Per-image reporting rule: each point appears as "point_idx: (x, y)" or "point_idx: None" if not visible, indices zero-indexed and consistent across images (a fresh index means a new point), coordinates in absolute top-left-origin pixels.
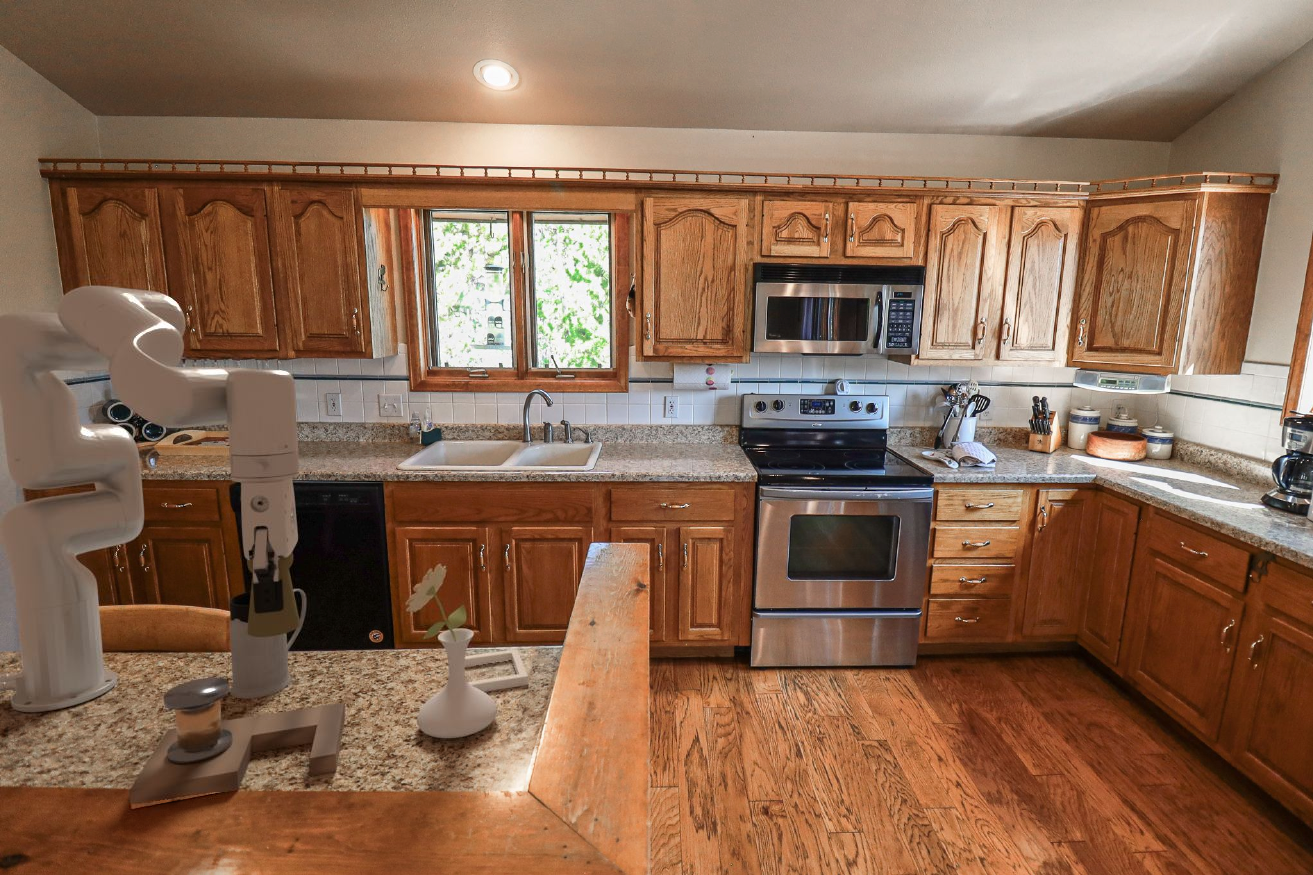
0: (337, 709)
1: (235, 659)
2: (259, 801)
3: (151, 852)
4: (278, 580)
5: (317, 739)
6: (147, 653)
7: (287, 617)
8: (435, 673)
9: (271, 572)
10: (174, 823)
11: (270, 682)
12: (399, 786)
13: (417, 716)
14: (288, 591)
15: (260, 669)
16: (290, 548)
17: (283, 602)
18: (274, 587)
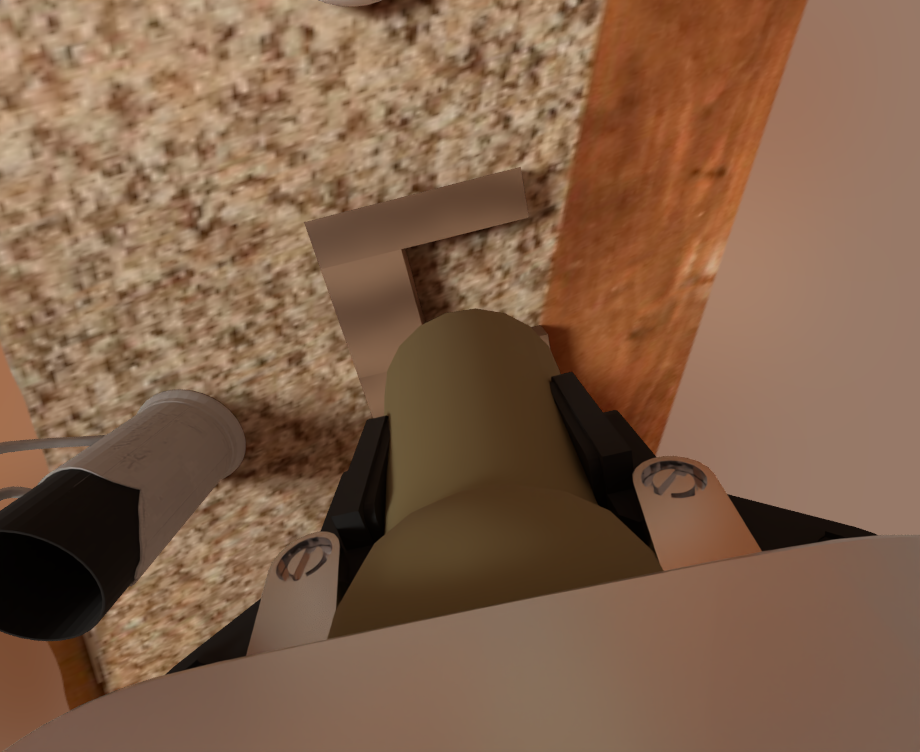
0: (337, 227)
1: (197, 506)
2: (578, 278)
3: (661, 373)
4: (687, 460)
5: (459, 227)
6: (102, 656)
7: (530, 348)
8: (60, 31)
9: (848, 529)
10: (605, 376)
11: (208, 418)
12: (588, 6)
13: (354, 4)
14: (517, 397)
15: (203, 448)
16: (895, 614)
17: (565, 384)
18: (639, 460)
